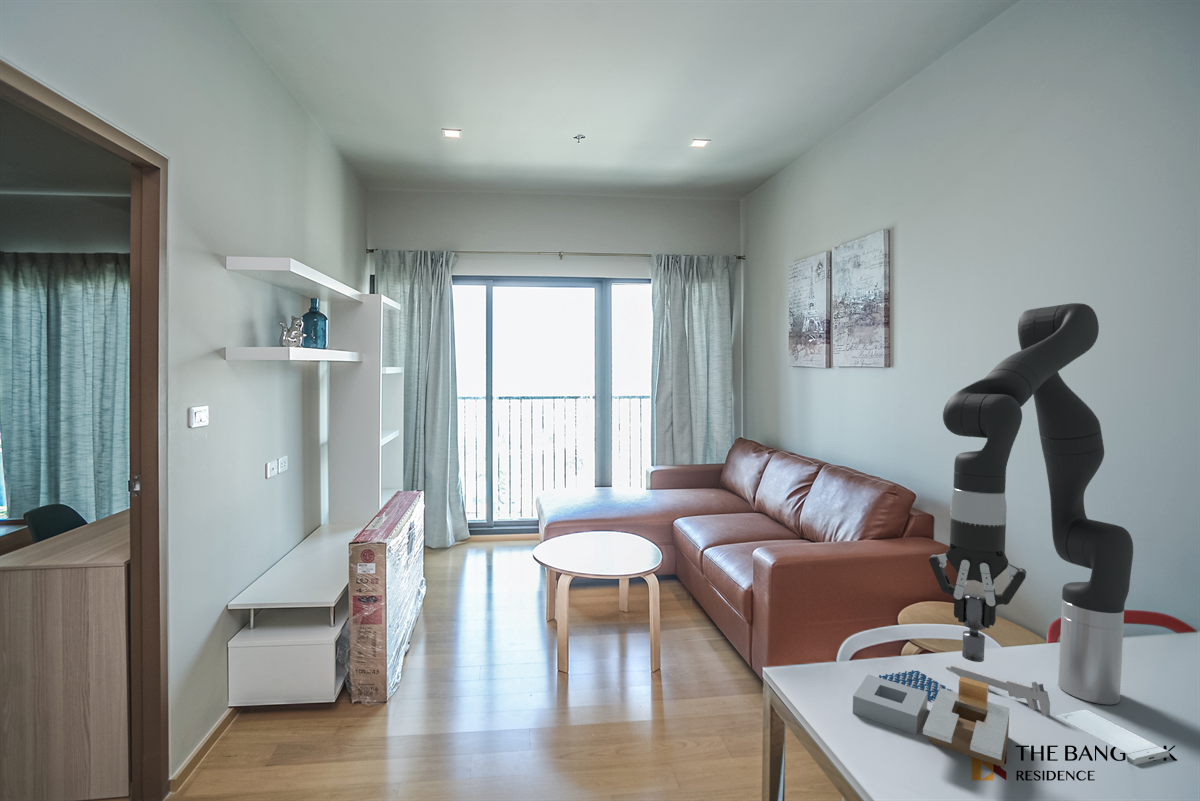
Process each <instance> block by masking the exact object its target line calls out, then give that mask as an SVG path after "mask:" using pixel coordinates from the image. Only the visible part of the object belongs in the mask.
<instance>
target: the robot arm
mask: <svg viewBox="0 0 1200 801" xmlns="http://www.w3.org/2000/svg"><path fill="white" fill-rule="evenodd" d="M1018 319H1019V320H1018V322H1017V336H1018V337H1017V338H1018V343H1019V347H1020V351H1017V352H1015V353H1013V354H1011V355H1010V356H1008V357H1006V358H1005V359H1003V360H1001V361H1000V362H999V363H998V364H996V366H995V367H994V368H993V369H992V370H991V371H990V372H989V373H988V374H987V375H986V376H985V377H984V378H981V379H979V380H977V381H975V382H973V383H971V384H969V385H967V386H964V387H963V388H961V389H960V390H958V391H957V392H955V393H954V394H953V395H951V396H950V398H949V399H948V400H947V402H946V404H945V405H944V407H943V411H942V421H943V424H944V426H945V428H946V429H947V430H948V431H949V432H950V433H951V434H954V435H956V436H960V437H969V438H979V439H980V438H983V439H984V438H985V439H987V440H986V442H985V444H984V446H983V447H982V448H981V449H980V450H974V451H965V452H963V451H962V452H961V453H958V454H957V455H956V456H955V458H954V467H953V468H954V469H953V490H952V496H951V500H950V501H951V503H950V504H951V505H950V509H949V510H950V511H949V513H950V525H949V526H950V528H949V530H950V531H949V547H948V549H947V550H946V552H945V553H939V554H936V553H933V554H932V555H931V556H930V557H929V559H928V561H929V564H930V567H931V568H932V572H933V573H934V576H935V578H936V580H937V583H938V586H939V587H940V589H941V590H940V591H942V593H943V594H949V595H950V596H952V598H953V601H954V602H953V616H954V618H955V619H958V620H957V622H959V623H962V624H963V623H964V594H965V590H966V587H967V583H968V581H976V582H978V583H982V585H983V586H982V587H983V592H984V597H985V598H986V604H985V615H984V628H985V629H990V627H991V626H995V623H996V620H997V607H998V605H1000V606H1001V605H1004V606H1006V605H1009V604H1010V602H1011V601H1012V599H1013V597H1014V596H1015V594H1016V593H1017V592H1018V590H1019V588H1020V587H1021V585H1022V584H1023V583H1024V581H1025V579H1026V577H1027V571H1026V569H1024V568H1023V567H1022V568H1019V567H1017V566H1014V565H1013V564H1011V563H1009V560H1008V558H1007V556H1006V530H1007V529H1006V528H1007V499H1006V478H1007V467H1008V466H1007V465H1008V462H1009V459H1010V455H1011V452H1012V449H1013V446H1014V443H1015V441H1016V439H1017V436H1018V433H1019V431H1020V428H1021V425H1022V420H1023V413H1022V412H1023V410H1022V407H1023V406H1024V405H1025V404H1026V403H1027V402H1028V400H1029V399H1030V398H1032V397H1033V401H1034V406H1035V412H1036V417H1037V425H1038V433H1039V434H1038V435H1039V438H1040V444H1041V450H1042V451H1041V452H1042V455H1043V459H1044V463H1045V468H1046V475H1047V482H1048V490H1049V498H1050V512H1051V513H1050V516H1051V518H1050V519H1051V530H1052V531H1051V533H1052V540H1053V541H1052V542H1053V546H1054V550H1055V551H1056V553H1057V555H1058V556H1059V558H1061V559H1062V560H1063V561H1065V562H1067V563H1070V564H1073V565H1076V566H1080V567H1083V568H1087V569H1090V570H1091V573H1090V578H1089V581H1074V582H1068V583H1065V584H1063V586H1062V590H1061V597H1062V598H1061V612H1060V613H1061V615H1060V616H1061V619H1060V640H1059V656H1058V657H1059V659H1058V660H1059V663H1058V684H1057V685H1058V686H1059V689H1061V690H1062V691H1063V692H1065V693H1067V694H1069V695H1070V696H1073V697H1075V698H1078V699H1081V700H1083V701H1086V702H1089V703H1090V702H1091V703H1094V704H1099V705H1100V704H1101V705H1116V704H1119V703H1120V702H1121V687H1122V686H1121V683H1122V682H1121V681H1122V665H1123V663H1122V662H1123V641H1124V620H1125V603H1126V601H1127V598H1128V595H1129V591H1130V584H1131V574H1132V569H1133V568H1132V567H1133V559H1134V542H1133V538H1132V536H1131V534H1130V532H1129V531H1128V530H1127V529H1126V528H1125V527H1123V526H1121V525H1117V524H1114V523H1109V522H1103V521H1100V520H1094V519H1088V517H1087V515H1086V511H1085V500H1084V498H1085V491H1086V489H1087V487H1088V486H1089V484H1090V482H1091V480H1092V479H1093V478H1094V476H1096V473H1097V472H1098V470H1099V469H1100V467H1101V465H1102V464H1103V460H1104V457H1105V447H1104V446H1105V445H1104V440H1103V435H1102V430H1101V429H1102V427H1101V423H1100V420H1099V418H1098V416H1096V414H1095V412H1094V411H1093V410H1092V409H1091V408H1090V407H1089V406H1088V405H1087V403H1086V402H1084V400H1082V399H1081V397H1079V396H1078V394H1077V393H1075V392H1074V391H1073V390H1072V389H1071V388H1070V386H1068V385H1067V383H1065V381H1064V380H1063V378H1062V376H1061V375H1060V373H1059V371H1060V370H1062V369H1064V368H1065V367H1067V366H1068V365H1070V364H1071V363H1072V362H1074V361H1075V360H1076V359H1078V358H1080V357H1082V356H1083V355H1084V354H1086V353H1087V352H1088V351H1089V350H1090V349H1092V348H1093V346H1094V345H1095V344H1096V341H1097V339H1098V335H1099V332H1100V331H1099V328H1100V327H1099V319H1098V316H1097V314H1096V312H1095V310H1094V309H1093V308H1092V307H1091V306H1090V305H1088V304H1086V303H1078V302H1077V303H1076V302H1074V303H1072V302H1071V303H1065V304H1059V305H1053V306H1044V307H1038V308H1031V309H1028V310H1025V311H1024V312H1022V314H1020V317H1019V318H1018ZM947 561H948V562H949V563H950V565H951V566H952V567H953V570H954V572H956V574H957V577H956V578H957V579H956V582H955V583H956V584H955V585H953V584H952V583H951V580H950V579H949V576H948V573H947V572H946V569H945V568H946V566H947ZM1004 571H1007V579H1008V580H1009V583H1008V584H1007V586H1006V587H1005V589H1004V590H1003V592H1002V593H999V594H997V592H996V584H995V579H997V578H998V577H999V576H1000V575H1001V574H1002V573H1003V572H1004Z"/></svg>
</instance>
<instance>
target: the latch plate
mask: <svg viewBox="0 0 1200 801" xmlns="http://www.w3.org/2000/svg"><path fill="white" fill-rule="evenodd" d="M988 699H989V685H988V684H987V683H983V682H980V681H976V680H972V679H969V678H966V677H962V676H959V680H958V692H956V691H954V690H953V691H949V690H946V689H942V688H940V689H939V691H938V694H937V696H936V699H934V700H935V701H933V704H932V707H931V708H930V710H929V713H928V716H927V718H926V720H925V723H924V724H923V725H924V726H923V728H922V735H925V736H928V737H929V736H931V737H934V738H937V739H940V740H943V741H946V742H949V743H952V740H953V737H954V734H955V730H956V727H957V724H958V721H959V714H955V713H953V710H954V707H955V705H956V706H959V707H962V708H966V709H969V710H972V711H976V712H979V713H982V714H986V715H987V717H986V721H985V723H984V722H981V721H978V720H977V721H976V725H975V729H974V733H973V736H972V740H971V744H970V750H972V751H975V752H978V753H981V754H984V755H987V756H990V757H993V758H996V759H999V760H1001V759H1002V753H1003V747H1004V741H1005V735H1006V729H1007V723H1008V717H1009V718H1010V707H1008V706H1005V705H1001V704H997V703H994V702H990V701H988Z"/></svg>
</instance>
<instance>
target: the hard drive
mask: <svg viewBox="0 0 1200 801" xmlns="http://www.w3.org/2000/svg"><path fill="white" fill-rule="evenodd" d="M1055 717H1057V718H1059V719H1061V720H1063V721H1065V722H1067V723H1068V724H1071V725H1073V726H1074V727H1077V728H1078V729H1080V730H1082V731H1085V732H1086V733H1088V734H1090V735H1091V736H1093V737H1095V738H1097V739H1100V741H1103V742H1106V743H1107V744H1109V745H1111V746H1113V747H1115V748H1117V749H1118V750H1121V751H1122V752H1124V753H1125V755H1126V761H1127V762H1128V763H1130V764H1132V765H1134V766H1135V765H1139V764H1144V763H1148V762H1153V761H1157V760H1160V759H1164V758H1169V757H1170V751H1169V750H1167V749H1165V748H1163V747H1161V746H1159V745H1157V744H1155V743H1153V742H1152V741H1149V740H1147V739H1146V738H1144V737H1141V736H1139V735H1137V734H1135V733H1133V732H1131V731H1129V730H1127V729H1126V728H1123V727H1122V726H1119V725H1117V724H1116V723H1113V722H1111V721H1109V720H1108V719H1105V718H1103V717H1101V716H1099V715H1098V714H1096V713H1094V712H1091V711H1089V710H1088V709H1082V710H1075V711H1071V712H1067V713H1061V714H1057V715H1055Z"/></svg>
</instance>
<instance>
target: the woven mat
mask: <svg viewBox="0 0 1200 801" xmlns="http://www.w3.org/2000/svg"><path fill="white" fill-rule="evenodd" d="M878 678H882V679H885V680H889V681H892V682H895V683H899V684H902V685H905V686H909V687H912V688H916V689H919V690H922V691H926V692H928V700H927V703H928V701H930V702H931V701H933V702H934V701H935V699H936V696H937V694H938V691H939V689H940V688H942V689H946V690H949V691H953V692H954V690H953V689H951V688H950V689H949V688H948V687H947V686H946V685H944V684H941V683H940V682H938V681H937V680H934V678H933V677H929V676H928V675H927V674H925V673H923V672H922V671H920V670H913V669H912V670H910V671H907V670H906V671H904V672H900V671H899V672H898V673H893V672H892V673H891V674H888V673H885V675H882V674H879V675H878Z"/></svg>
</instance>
